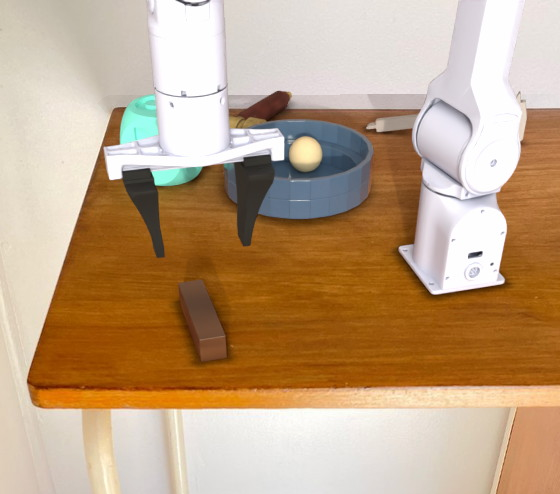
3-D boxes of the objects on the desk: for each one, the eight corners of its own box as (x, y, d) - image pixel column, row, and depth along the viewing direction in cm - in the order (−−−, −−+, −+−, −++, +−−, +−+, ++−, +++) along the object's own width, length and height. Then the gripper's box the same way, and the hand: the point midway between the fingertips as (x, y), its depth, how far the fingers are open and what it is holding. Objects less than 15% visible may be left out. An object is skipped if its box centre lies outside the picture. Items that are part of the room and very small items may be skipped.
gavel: (258, 71, 120) (323, 82, 117) (258, 105, 123) (321, 117, 120) (182, 112, 106) (254, 125, 103) (184, 149, 109) (254, 163, 106)
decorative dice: (185, 190, 101) (179, 121, 95) (124, 181, 102) (115, 113, 97) (209, 163, 106) (205, 96, 100) (151, 155, 108) (144, 89, 102)
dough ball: (326, 175, 102) (327, 142, 99) (294, 179, 101) (294, 146, 99) (316, 162, 105) (317, 129, 102) (285, 166, 104) (285, 133, 101)
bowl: (391, 213, 97) (395, 169, 93) (244, 232, 93) (243, 188, 90) (343, 152, 108) (345, 112, 105) (211, 168, 105) (208, 127, 102)
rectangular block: (227, 358, 77) (225, 335, 75) (201, 362, 76) (199, 339, 74) (204, 300, 83) (202, 279, 82) (180, 304, 83) (178, 282, 81)
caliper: (521, 141, 111) (531, 91, 106) (521, 144, 110) (531, 94, 106) (367, 128, 114) (370, 78, 110) (365, 131, 113) (369, 81, 109)
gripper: (268, 59, 69) (269, 215, 79) (90, 75, 67) (113, 236, 76) (292, 89, 65) (290, 252, 74) (101, 108, 62) (125, 274, 71)
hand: (202, 246), depth 75 cm, fingers open, 7 cm apart
